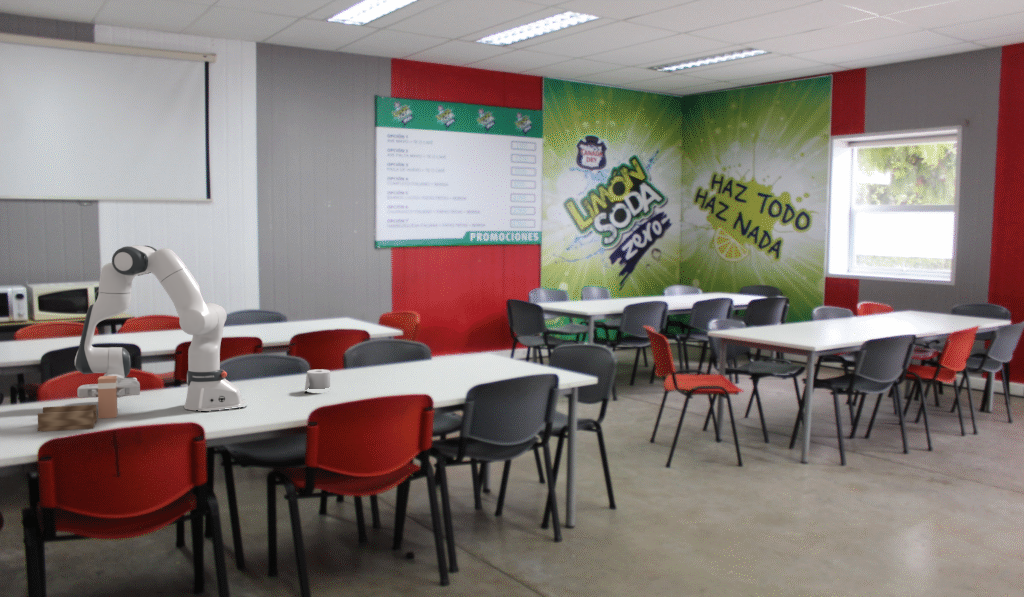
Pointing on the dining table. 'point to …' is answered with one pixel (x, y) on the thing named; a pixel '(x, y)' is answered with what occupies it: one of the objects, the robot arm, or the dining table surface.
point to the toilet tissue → (317, 379)
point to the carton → (107, 397)
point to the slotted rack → (67, 418)
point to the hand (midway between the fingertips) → (107, 394)
